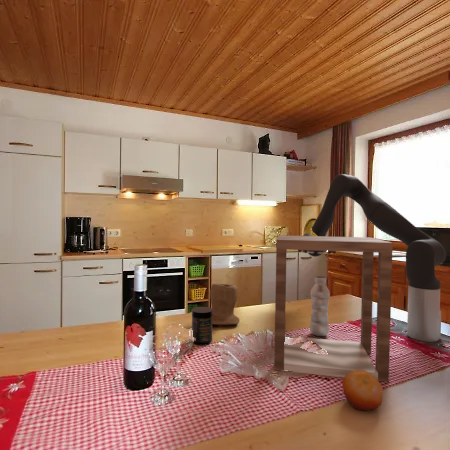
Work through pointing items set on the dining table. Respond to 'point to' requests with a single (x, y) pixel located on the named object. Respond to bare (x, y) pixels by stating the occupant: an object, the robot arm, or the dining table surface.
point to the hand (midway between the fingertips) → (317, 250)
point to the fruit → (362, 390)
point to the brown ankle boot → (223, 304)
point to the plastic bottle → (319, 307)
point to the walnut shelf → (356, 351)
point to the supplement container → (202, 325)
